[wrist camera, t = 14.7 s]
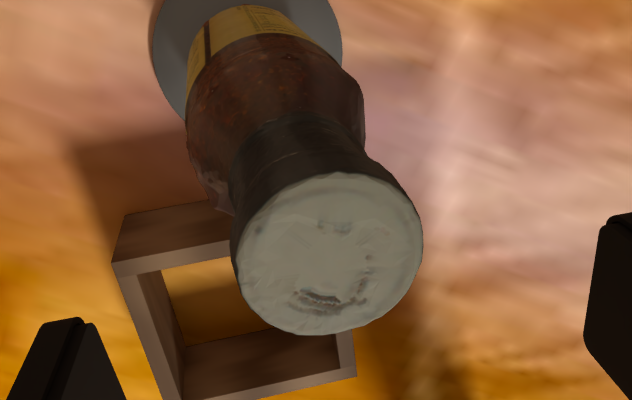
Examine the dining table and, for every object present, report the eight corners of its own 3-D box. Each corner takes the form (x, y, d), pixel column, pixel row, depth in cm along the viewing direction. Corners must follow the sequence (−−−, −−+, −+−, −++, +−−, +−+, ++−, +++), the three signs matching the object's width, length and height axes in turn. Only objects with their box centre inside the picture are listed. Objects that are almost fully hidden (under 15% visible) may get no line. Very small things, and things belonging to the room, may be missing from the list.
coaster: (330, -60, 26) (332, -59, 26) (348, 127, 31) (350, 129, 31) (128, -30, 25) (127, -30, 25) (179, 157, 30) (179, 160, 30)
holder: (321, 178, 32) (338, 218, 28) (340, 324, 38) (357, 376, 34) (124, 215, 31) (110, 263, 27) (174, 360, 37) (170, 419, 33)
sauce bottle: (246, 139, 30) (294, 435, 13) (163, 56, 27) (80, 292, 10) (334, 62, 29) (519, 273, 12) (257, -34, 26) (350, 58, 9)
